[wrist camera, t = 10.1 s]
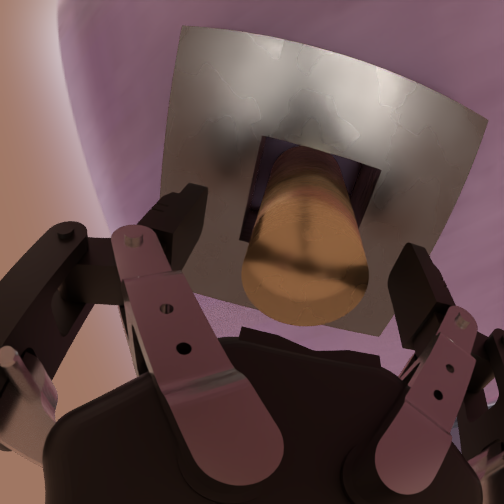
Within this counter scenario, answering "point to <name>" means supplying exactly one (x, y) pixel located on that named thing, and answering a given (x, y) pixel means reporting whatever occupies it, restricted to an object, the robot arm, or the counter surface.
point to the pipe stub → (305, 243)
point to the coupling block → (317, 137)
